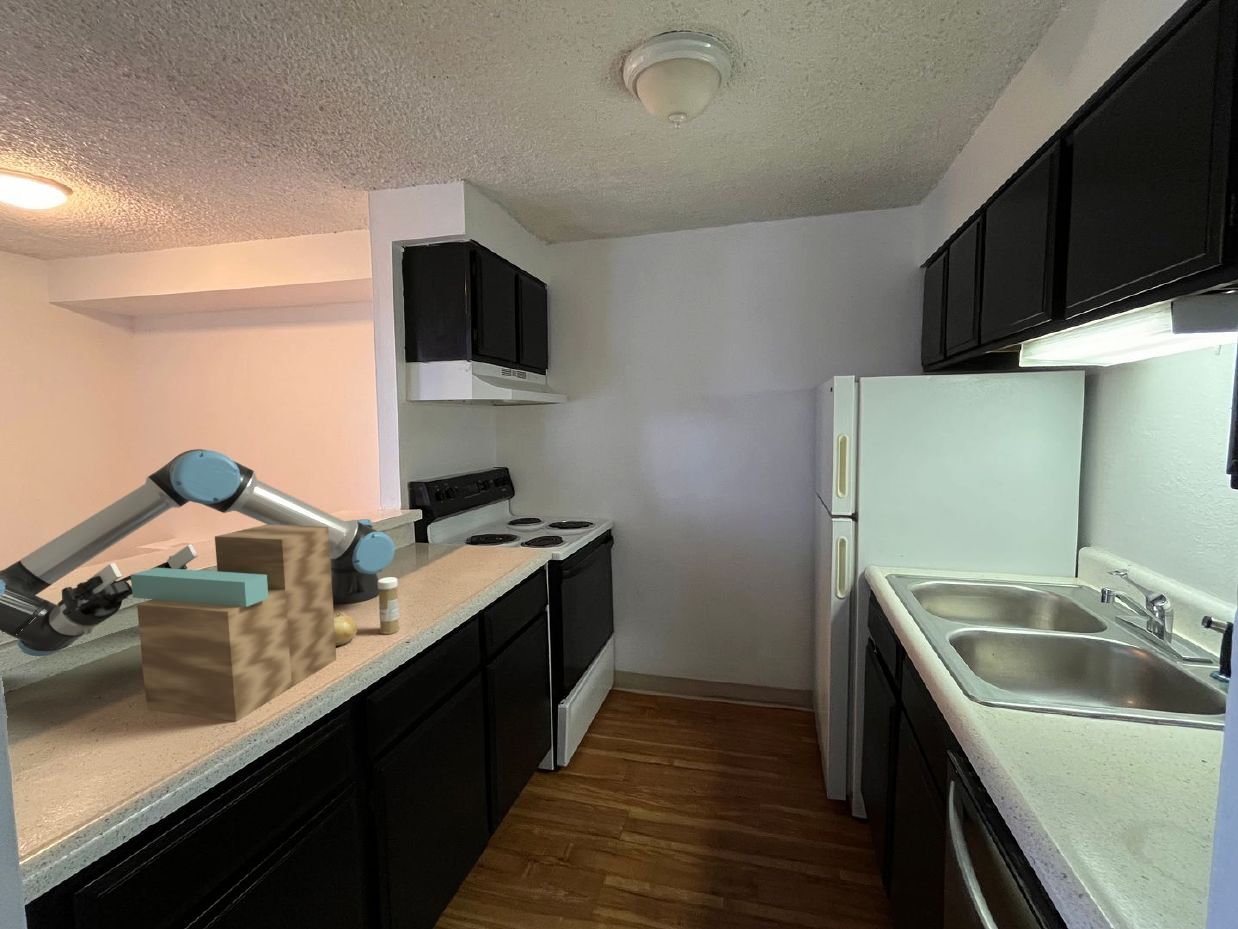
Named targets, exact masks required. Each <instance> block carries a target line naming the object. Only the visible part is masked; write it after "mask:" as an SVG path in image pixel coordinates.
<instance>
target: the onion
mask: <svg viewBox="0 0 1238 929" xmlns="http://www.w3.org/2000/svg"><path fill="white" fill-rule="evenodd" d="M333 613H334V614H336V615H334V630H335V646H336V647H339V646H343V645H347V644H348V643H350V641H351V640H353V639H354V638H355V636H356V635H357V632H358V626H357V623H356V622H355V620H354V618H352V617H350V616H349V615H346V614H345V613H344V612H341V611H339V612H336V611H333Z"/></svg>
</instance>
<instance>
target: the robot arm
mask: <svg viewBox="0 0 1238 929" xmlns="http://www.w3.org/2000/svg"><path fill="white" fill-rule="evenodd" d="M255 472H256V471H255V470H253V469H251V468H248V467H247V466H244V465H242V464H240V463H239V462H237V461H234V460H233V459H231V458H230V457H229V456H227V455H225V454H224V453H221V452H218V451H215V450H207V449H203V448H202V449H201V448H198V449H189V450H186V451H183V452H182V453H180V454H178V455H177V456H175V457H174V458H172V459H171V460H170V461H169V462H168V463H166V464H165V465H163V466H162V467H161V468H159V469H157V471H155V472H153V473H152V474H150V475H148V476H147V477H146V478H145V479H146V480H145V483H144V484H142V485H140V486H139V487H138V488H136V489H134V490H133V491H131V492H129V493H128V494H125V496H123V497H121V498H120V499H118V500H115V502H113V503H111V504H110V505H107V506H106V507H105V508H103V509H101V510H99V511H98V512H96V513H95V514H93V515H92V516H90V517H87V519H84V520H83V521H82V522H80V523H78V524H76V525H75V526H73V527H72V528H70V529H69V530H66V531H65V532H64V533H62V534H60V535H59V536H57V537H56V538H54V539H52V540H51V541H48V542H47V543H46V544H44V545H42V546H41V547H39V548H37V549H35V550H34V551H33V552H30V553H29V554H27V555H26V556H24V557H22V558H20V559H19V560H18V561H16V562H14V563H13V564H11V565H9V566H8V567H5V568H4V569H0V630H1V631H2V632H1V633H3V632H5V633H7V634H6V635H8V636H10V637H12V636H13V638H15V639H16V640H17V639H19V642H18V644H17V646H18V647H19V649H20V650H21V651H22V652H23V654H27V655H29V656H32V657H47V656H50V655H53V654H56V653H57V652H59V651H61V650H64V649H66V648H68V647H69V646H71V645H72V644H74V643H75V642H76V641H77V640H78V639H80V638H81V637H83V635H89V634H91V633H92V630H93V629H94V628H95V627H97V626H99V625H100V624H101V623H103V622H105V621H106V620H107V619H109V618H111V617H112V616H113V615H115V614H116V613H117V612H119V610H120V609H121V606H122V602H123V601H124V600H126V599H128V597H130V596H133V595H132V585H130V584H129V582H128V581H131V574H130V575H128V576H126V577H123V578H121V577H122V573H121V572H120V570H119V567H118V566H117V564H116V562H113V563H109V564H107V565H106V566H105V567H104V568H102V569H101V570H99V571H98V572H97V573H96V574H94V575H92V576H90V578H88V579H87V580H86V581H83V582H79V583H78V584H76V587H74V588H72V586H67V587H65V588H63V589H61V600H60V601H59V602H58V603H57V604H56V603H53V602H52V601H50V600H47V599H44V598H42V597H41V596H40V597H39V596H38V594H40V593H41V592H43V591H44V590H47V589H48V588H50V586H52V585H53V584H54V583H56V582H58V581H59V580H61V579H62V578H64V577H65V576H67V575H69V574H71V573H72V572H73V571H74V570H76V569H78V568H79V567H81V566H83V565H84V564H86V563H87V562H89V561H90V560H92V559H94V558H95V557H97V556H98V555H100V554H102V553H103V552H105V551H106V550H107V549H109V548H110V547H112V546H114V545H115V544H118V542H120V541H122V540H124V539H125V538H126V537H128V536H129V535H131V534H133V533H135V532H136V531H137V530H139V529H141V528H142V527H144V526H145V525H147V524H148V523H150V522H151V521H153V520H155V519H156V518H158V517H159V516H161V515H162V514H163V513H166V512H167V511H168V510H170V509H173V508H175V509H176V508H177V509H178V508H181V507H183V506H184V505H186V504H187V503H189V502H191V503H197V504H200V505H201V504H202V505H203V506H206V507H208V508H210V509H212V510H215V511H218V512H219V513H222V514H226V513H230V512H238V513H239V514H241V515H244V516H246V517H248V518H251V519H254V520H256V521H259V522H261V523H263V524H264V525H293V526H320V527H328V529H329V546H330V563H331V580H332V596H333V604H341V605H343V604H354V603H359V602H364V601H367V600H371V599H373V598H376V597H377V596H378V597H379V590H378V580H380V579H379V576H378V573H380V572H382V571H384V570H385V569H387V568H388V567H389V565H390V564H391V563H392V561H393V559H394V557H395V553H396V552H395V551H396V546H395V543H394V541H393V539H392V538H391V537H390V536H389V535H388V534H387V533H385V532H382V531H378V530H376V529H374V528H373V523H372V520H371V519H370V518H369V519H368V518H365V519H363V518H361V519H352V520H342V519H340V518H339V517H336V516H334V515H331V514H330V513H328V512H325V511H323V510H322V509H319V508H318V507H316V506H313V505H311V504H309V503H307V502H305V501H303V500H300V499H298V498H296V497H295V496H292V495H290V494H288V493H286V492H284V491H281V490H280V489H277V488H275V487H273V486H272V485H269V484H267V483H265V482H263V481H260V480H259V479H258V478H257V476H256V473H255ZM197 557H198V553H197V552H196V549H195V548H194V546H193V545H192V544H188V545H186V546H185V547H183V548H182V549H180V550H179V551H178V552H176V553H174V554H173V555H171V556H170V555H169V556H168V559H167V560H166V561H165V562H163V563H160V564H159V565H156V566H154V567H152V568H150V569H153V568H169V569H185V570H188V567H187V564H188V563H190V562H191V561H193V560H194V559H196V558H197ZM150 569H148V570H150ZM120 578H121V579H120ZM41 611H42V612H41ZM40 612H41V613H40ZM39 613H40V614H39ZM38 614H39V615H38ZM35 617H36V618H35ZM34 618H35V619H34ZM33 619H34V620H33ZM32 620H33V621H32ZM31 621H32V622H31ZM30 622H31V623H30ZM29 623H30V624H29ZM22 629H23V630H22ZM21 630H22V631H21ZM5 633H4V634H5ZM16 634H17V635H16Z"/></svg>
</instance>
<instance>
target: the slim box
mask: <svg viewBox="0 0 1238 929" xmlns="http://www.w3.org/2000/svg"><path fill="white" fill-rule="evenodd" d="M152 568H153V569H152ZM152 568H150V570H149V569H146V570H143V571H138V572H134V573H130V575H131V580H130V583H131V586H132V595H131V596H132V599H146V600H153V599H155V600H167V601H180V602H192V603H205V604H217V605H229V606H242V607H247V606H250V605H253V604H255V603H258V602H260V601H263V600H265V599H268V585H267V575H263V574H247V573H232V572H217V570H214V571H213V570H196V569H186V570H185V569H169V568H154V567H152Z"/></svg>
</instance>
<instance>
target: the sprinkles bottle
mask: <svg viewBox="0 0 1238 929" xmlns="http://www.w3.org/2000/svg"><path fill="white" fill-rule="evenodd" d="M398 584H399V583H398V578H397V577H394V576H393V577H392V576H390V577H389V576H387V577H382V578H380V579H379V580H378V590H379V595H378V599H379V600H378V607H379V608H378V609H379V623H380V624H379V626H380V629H379V632H380V634H382V635H392V634H395V633H397V632H398V631H399V630H400V626H399V624H400V623H399V597H398Z"/></svg>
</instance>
